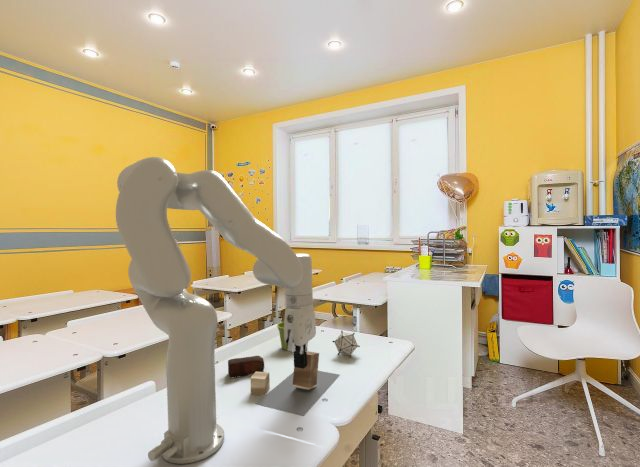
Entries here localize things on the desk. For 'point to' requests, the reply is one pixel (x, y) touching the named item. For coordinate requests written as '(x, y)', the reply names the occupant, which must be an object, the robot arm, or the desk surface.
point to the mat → (297, 394)
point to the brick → (245, 366)
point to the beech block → (260, 383)
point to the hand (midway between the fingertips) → (300, 366)
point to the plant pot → (282, 335)
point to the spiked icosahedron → (346, 343)
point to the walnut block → (307, 372)
